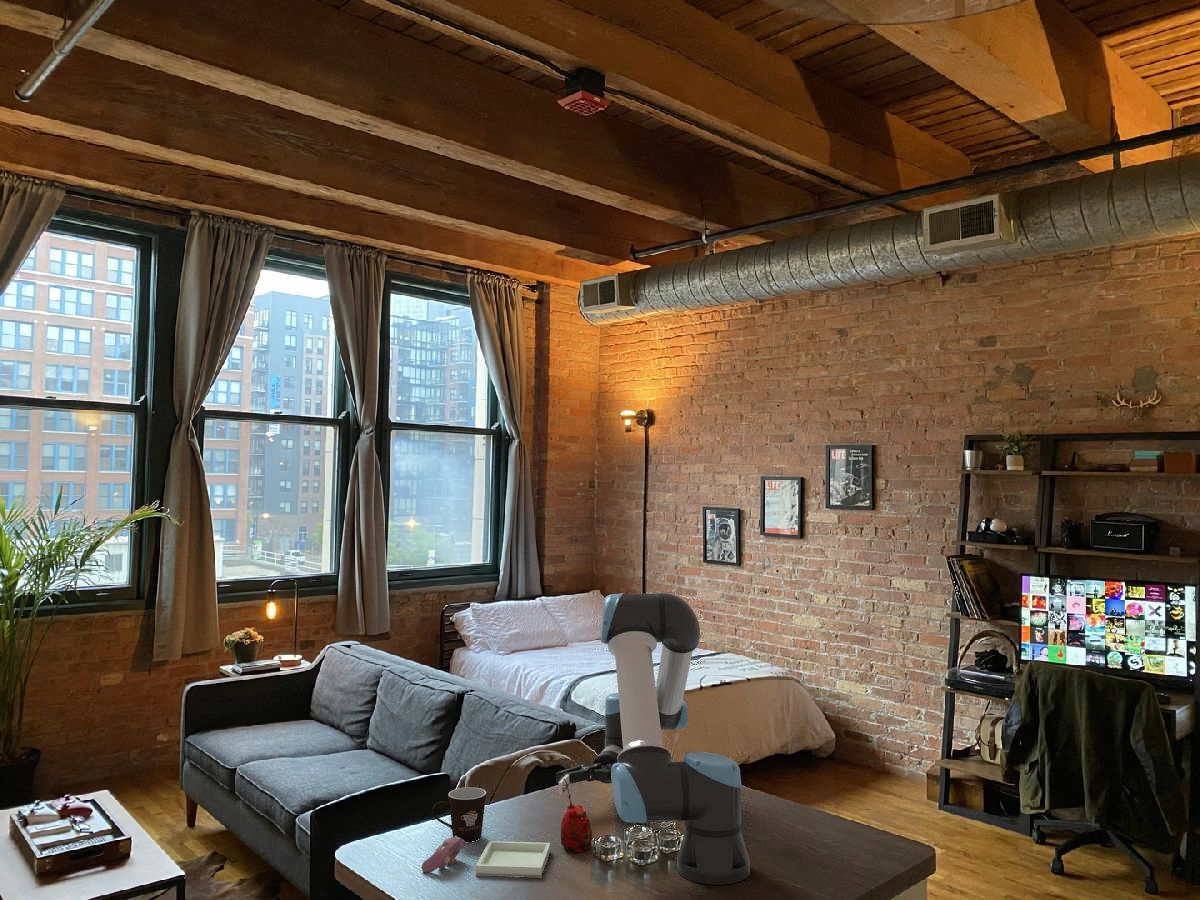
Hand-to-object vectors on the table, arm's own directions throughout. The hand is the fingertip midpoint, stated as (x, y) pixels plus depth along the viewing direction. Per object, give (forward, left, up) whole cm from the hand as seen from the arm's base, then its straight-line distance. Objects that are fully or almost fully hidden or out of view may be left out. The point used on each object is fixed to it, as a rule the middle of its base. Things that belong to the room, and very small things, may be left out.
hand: (587, 791), depth 209 cm
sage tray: (+14, +20, -9) cm, 26 cm away
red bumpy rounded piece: (+2, +10, -10) cm, 14 cm away
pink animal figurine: (+28, +22, -10) cm, 37 cm away
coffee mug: (+29, +6, -10) cm, 31 cm away
